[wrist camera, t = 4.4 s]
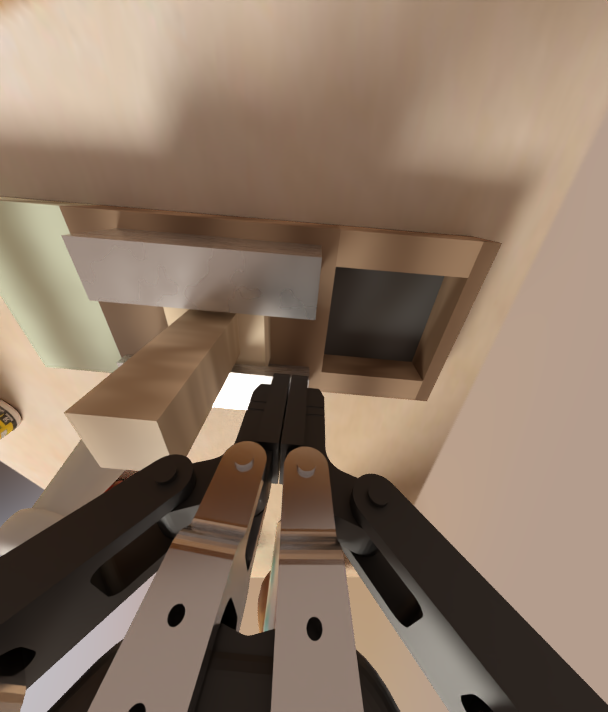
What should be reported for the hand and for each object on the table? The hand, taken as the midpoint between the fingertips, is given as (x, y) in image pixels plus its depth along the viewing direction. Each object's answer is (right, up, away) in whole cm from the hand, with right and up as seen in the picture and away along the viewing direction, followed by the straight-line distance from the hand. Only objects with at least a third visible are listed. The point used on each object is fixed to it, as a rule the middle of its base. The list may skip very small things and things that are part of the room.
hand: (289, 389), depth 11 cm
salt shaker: (-18, -5, +17) cm, 25 cm away
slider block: (-5, +4, +6) cm, 9 cm away
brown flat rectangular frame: (-5, +6, +8) cm, 11 cm away
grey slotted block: (-5, +4, +6) cm, 9 cm away
